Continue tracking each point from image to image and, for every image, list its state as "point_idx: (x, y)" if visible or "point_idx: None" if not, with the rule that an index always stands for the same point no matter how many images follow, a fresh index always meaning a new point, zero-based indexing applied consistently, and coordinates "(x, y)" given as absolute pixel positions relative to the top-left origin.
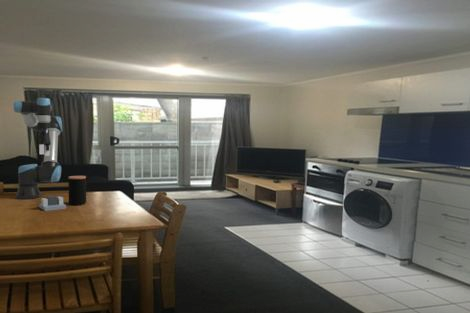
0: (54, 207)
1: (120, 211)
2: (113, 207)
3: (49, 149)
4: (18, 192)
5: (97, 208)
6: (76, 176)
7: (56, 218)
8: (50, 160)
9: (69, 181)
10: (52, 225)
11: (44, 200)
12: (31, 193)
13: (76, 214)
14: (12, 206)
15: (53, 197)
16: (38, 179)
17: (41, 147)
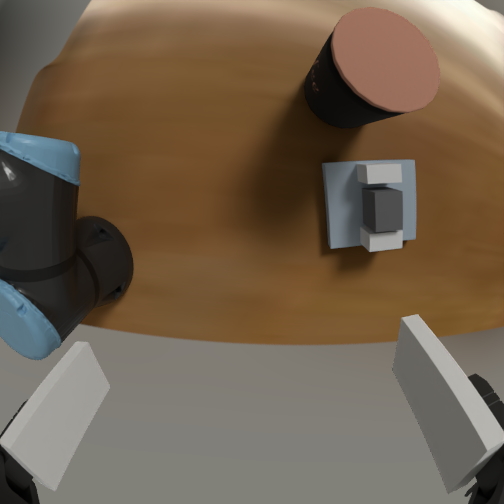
0: (414, 204)
1: (493, 52)
2: (445, 30)
3: (467, 382)
4: (104, 304)
5: (445, 72)
6: (376, 54)
7: (499, 224)
8: None
9: (398, 114)
10: None
11: (400, 242)
12: (118, 260)
13: (490, 163)
14: (265, 324)
15: (401, 207)
16: (75, 251)
17: (57, 440)
